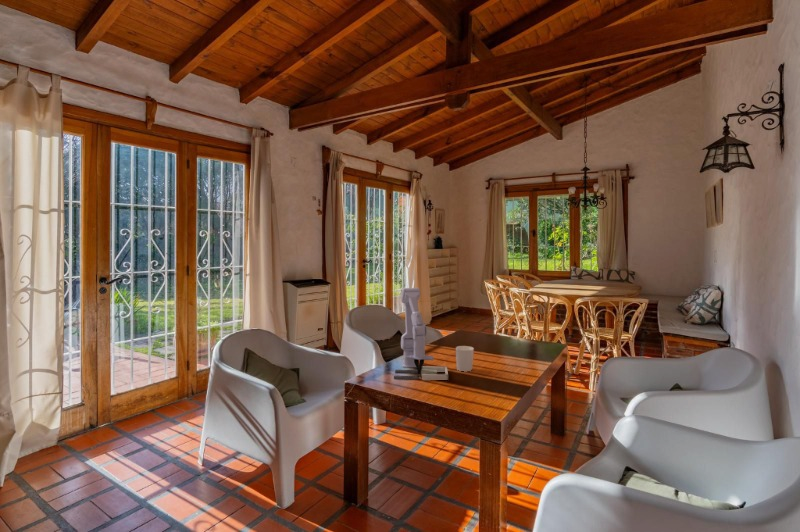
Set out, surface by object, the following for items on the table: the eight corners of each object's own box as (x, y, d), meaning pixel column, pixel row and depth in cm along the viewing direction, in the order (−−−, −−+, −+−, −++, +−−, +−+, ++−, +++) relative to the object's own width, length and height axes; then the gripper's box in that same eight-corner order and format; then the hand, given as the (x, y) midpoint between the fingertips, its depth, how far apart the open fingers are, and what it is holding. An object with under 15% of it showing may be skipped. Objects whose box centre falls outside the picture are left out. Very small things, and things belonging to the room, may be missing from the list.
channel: (395, 371, 230) (395, 369, 230) (419, 372, 229) (419, 370, 229) (393, 379, 218) (393, 376, 218) (419, 379, 218) (419, 377, 217)
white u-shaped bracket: (422, 371, 230) (422, 366, 230) (446, 372, 230) (446, 366, 230) (422, 380, 216) (422, 374, 216) (448, 380, 216) (448, 375, 216)
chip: (428, 375, 225) (429, 369, 225) (436, 375, 225) (436, 369, 224) (429, 377, 221) (429, 371, 221) (436, 377, 221) (436, 372, 220)
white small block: (421, 374, 225) (421, 369, 225) (428, 374, 225) (428, 369, 225) (421, 377, 221) (421, 371, 221) (429, 377, 221) (429, 371, 221)
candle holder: (452, 368, 237) (452, 346, 236) (467, 366, 240) (468, 345, 240) (460, 373, 228) (461, 351, 227) (476, 371, 231) (477, 349, 231)
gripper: (405, 349, 219) (404, 375, 220) (433, 350, 218) (433, 376, 219) (405, 346, 226) (405, 371, 227) (433, 346, 225) (432, 372, 226)
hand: (419, 373), depth 223 cm, fingers closed
